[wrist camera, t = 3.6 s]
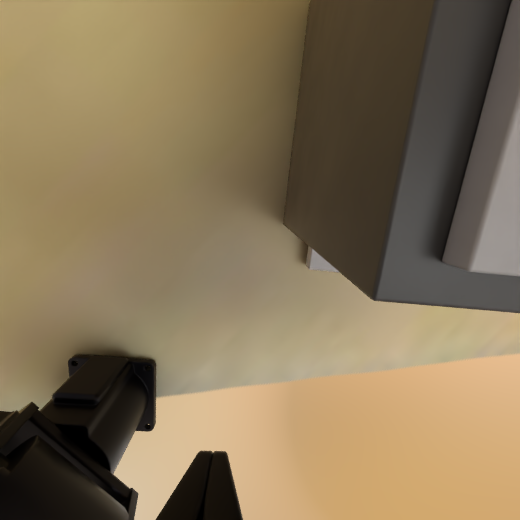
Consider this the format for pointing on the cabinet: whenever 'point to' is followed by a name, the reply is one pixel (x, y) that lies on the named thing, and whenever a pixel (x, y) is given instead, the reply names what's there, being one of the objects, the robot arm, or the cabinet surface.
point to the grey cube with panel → (411, 150)
